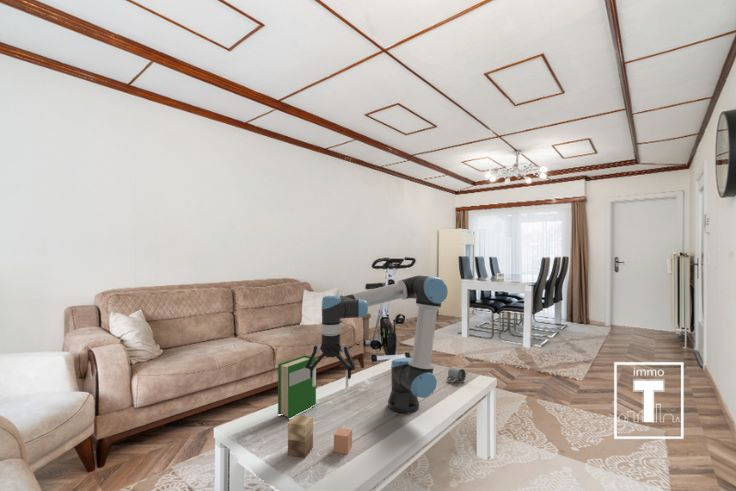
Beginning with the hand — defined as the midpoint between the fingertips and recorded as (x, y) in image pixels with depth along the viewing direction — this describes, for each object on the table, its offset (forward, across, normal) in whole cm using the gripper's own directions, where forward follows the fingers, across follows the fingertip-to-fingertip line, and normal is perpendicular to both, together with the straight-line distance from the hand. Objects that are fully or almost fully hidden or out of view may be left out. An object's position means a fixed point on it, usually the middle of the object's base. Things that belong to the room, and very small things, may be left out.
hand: (330, 386), depth 147 cm
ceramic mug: (+20, -62, -70) cm, 95 cm away
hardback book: (+21, +20, -24) cm, 37 cm away
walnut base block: (+21, +9, +11) cm, 26 cm away
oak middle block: (+15, +9, +11) cm, 21 cm away
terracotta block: (+21, -6, +8) cm, 23 cm away
